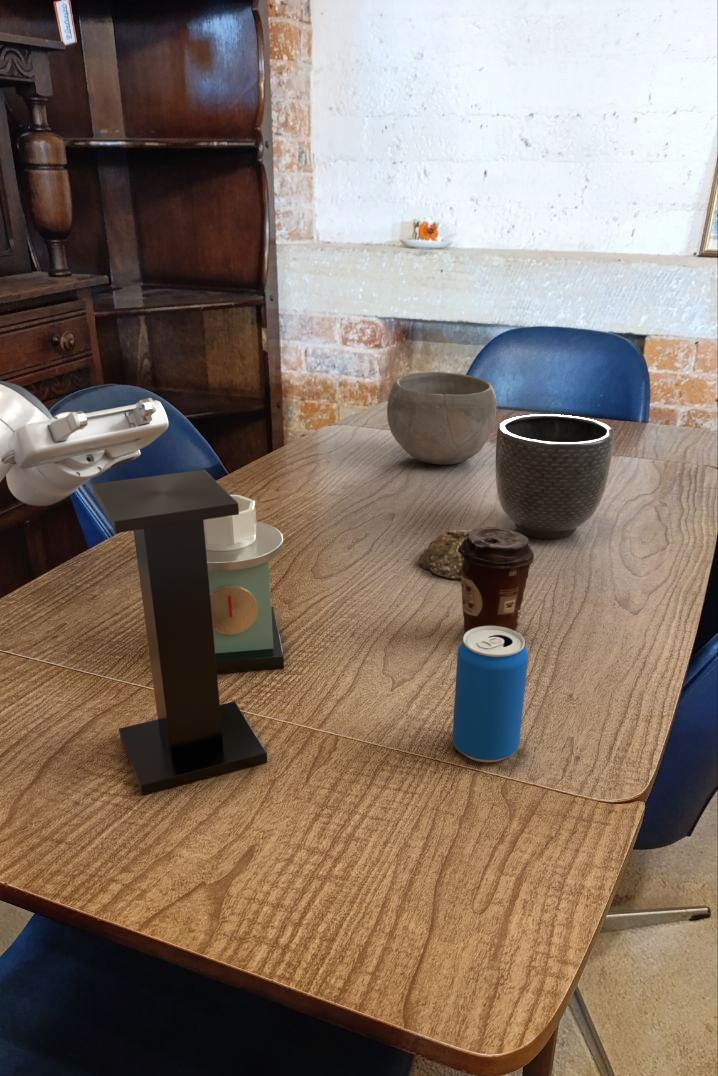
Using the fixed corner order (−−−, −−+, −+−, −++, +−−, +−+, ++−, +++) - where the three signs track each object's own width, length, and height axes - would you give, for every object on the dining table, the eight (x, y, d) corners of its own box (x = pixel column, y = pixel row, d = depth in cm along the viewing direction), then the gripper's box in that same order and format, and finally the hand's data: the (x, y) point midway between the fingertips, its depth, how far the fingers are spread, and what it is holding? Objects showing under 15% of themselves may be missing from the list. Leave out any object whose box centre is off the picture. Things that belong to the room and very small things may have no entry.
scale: (177, 624, 109) (166, 522, 103) (282, 617, 111) (277, 516, 104) (176, 677, 98) (164, 566, 91) (292, 667, 100) (288, 558, 93)
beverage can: (532, 753, 85) (544, 645, 79) (480, 775, 82) (489, 664, 76) (489, 722, 90) (498, 617, 84) (438, 741, 87) (444, 634, 81)
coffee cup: (457, 653, 103) (463, 550, 96) (448, 621, 110) (453, 523, 104) (531, 652, 103) (542, 549, 97) (517, 620, 110) (527, 522, 104)
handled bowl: (130, 517, 104) (126, 485, 102) (179, 503, 108) (175, 472, 106) (219, 556, 94) (216, 521, 92) (268, 538, 98) (267, 504, 96)
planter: (472, 516, 143) (478, 418, 135) (566, 506, 147) (577, 410, 140) (520, 556, 128) (530, 448, 121) (623, 542, 133) (639, 438, 125)
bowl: (510, 470, 165) (516, 389, 158) (404, 479, 160) (407, 396, 153) (469, 440, 183) (473, 366, 175) (373, 448, 178) (373, 372, 171)
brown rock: (515, 553, 129) (518, 522, 127) (500, 587, 119) (503, 553, 116) (430, 543, 133) (431, 512, 130) (409, 575, 122) (410, 542, 120)
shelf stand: (119, 735, 88) (80, 485, 75) (234, 708, 92) (215, 468, 80) (142, 795, 79) (102, 525, 67) (267, 762, 84) (252, 503, 71)
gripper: (-13, 440, 108) (23, 399, 98) (129, 412, 121) (175, 374, 111) (7, 488, 109) (45, 453, 98) (146, 456, 122) (194, 421, 111)
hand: (115, 410), depth 105 cm, fingers open, 8 cm apart
